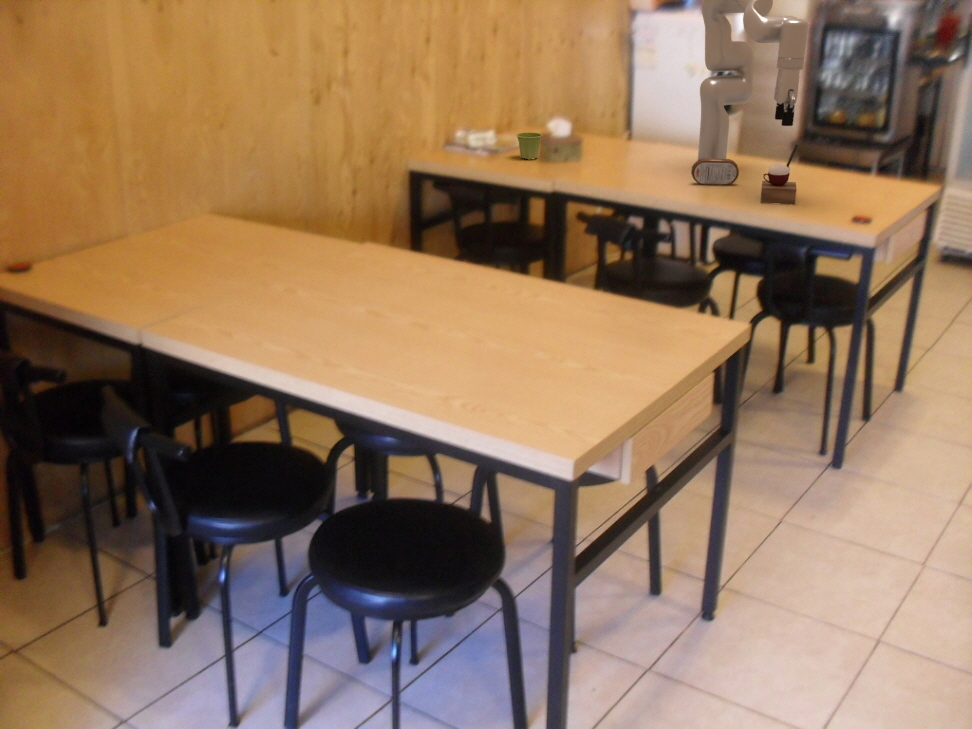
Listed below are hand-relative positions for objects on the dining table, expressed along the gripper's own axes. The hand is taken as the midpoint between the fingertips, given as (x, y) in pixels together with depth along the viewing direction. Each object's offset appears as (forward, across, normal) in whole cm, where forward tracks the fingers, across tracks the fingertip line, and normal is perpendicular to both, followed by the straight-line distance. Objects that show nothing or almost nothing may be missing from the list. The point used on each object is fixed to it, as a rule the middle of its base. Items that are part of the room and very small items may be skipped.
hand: (783, 122), depth 309 cm
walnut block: (+24, +1, +1) cm, 24 cm away
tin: (+24, -19, -16) cm, 35 cm away
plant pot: (+25, -59, -77) cm, 100 cm away
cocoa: (+19, +1, +1) cm, 19 cm away
